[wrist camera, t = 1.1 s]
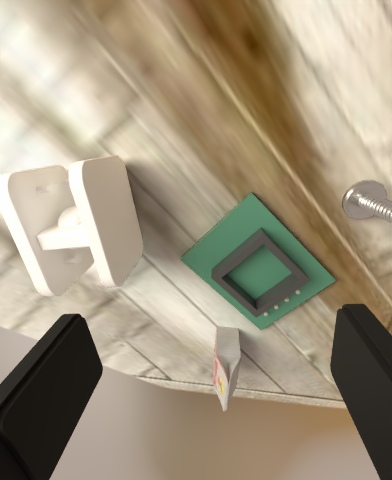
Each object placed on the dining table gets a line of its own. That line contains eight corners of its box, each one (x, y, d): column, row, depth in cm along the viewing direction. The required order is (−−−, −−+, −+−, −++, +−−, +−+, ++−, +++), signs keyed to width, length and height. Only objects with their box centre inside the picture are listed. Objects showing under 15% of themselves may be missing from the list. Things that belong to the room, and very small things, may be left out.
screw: (330, 211, 33) (343, 175, 31) (367, 216, 32) (382, 180, 30) (394, 254, 21) (421, 199, 19) (452, 262, 20) (486, 207, 19)
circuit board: (251, 191, 33) (254, 198, 29) (332, 276, 36) (343, 290, 33) (182, 256, 37) (178, 268, 34) (259, 325, 41) (263, 341, 38)
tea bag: (238, 328, 42) (243, 381, 33) (234, 356, 45) (237, 413, 35) (216, 326, 42) (215, 378, 33) (214, 354, 45) (212, 410, 36)
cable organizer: (148, 254, 38) (120, 300, 27) (86, 259, 39) (36, 304, 29) (125, 153, 32) (79, 161, 22) (54, 163, 34) (-24, 176, 23)
